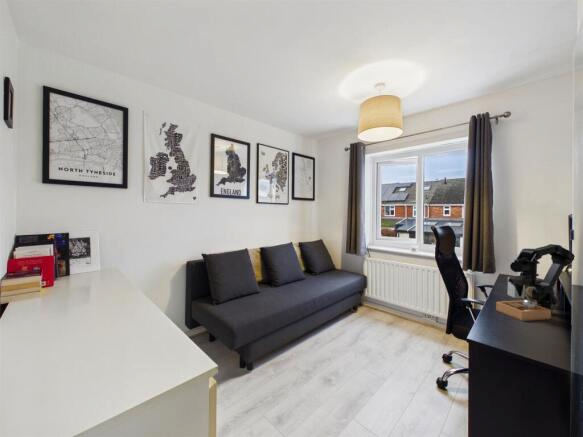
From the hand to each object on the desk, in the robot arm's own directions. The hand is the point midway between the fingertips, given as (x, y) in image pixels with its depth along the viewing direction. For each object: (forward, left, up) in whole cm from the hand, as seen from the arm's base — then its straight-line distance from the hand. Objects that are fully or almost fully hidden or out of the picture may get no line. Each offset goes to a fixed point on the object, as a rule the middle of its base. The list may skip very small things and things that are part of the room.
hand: (528, 298), depth 137 cm
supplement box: (-24, -26, -9) cm, 37 cm away
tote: (+4, 0, -9) cm, 9 cm away
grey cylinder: (0, 0, -8) cm, 8 cm away
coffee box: (-22, -13, -9) cm, 27 cm away
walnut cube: (+8, 0, -8) cm, 11 cm away
